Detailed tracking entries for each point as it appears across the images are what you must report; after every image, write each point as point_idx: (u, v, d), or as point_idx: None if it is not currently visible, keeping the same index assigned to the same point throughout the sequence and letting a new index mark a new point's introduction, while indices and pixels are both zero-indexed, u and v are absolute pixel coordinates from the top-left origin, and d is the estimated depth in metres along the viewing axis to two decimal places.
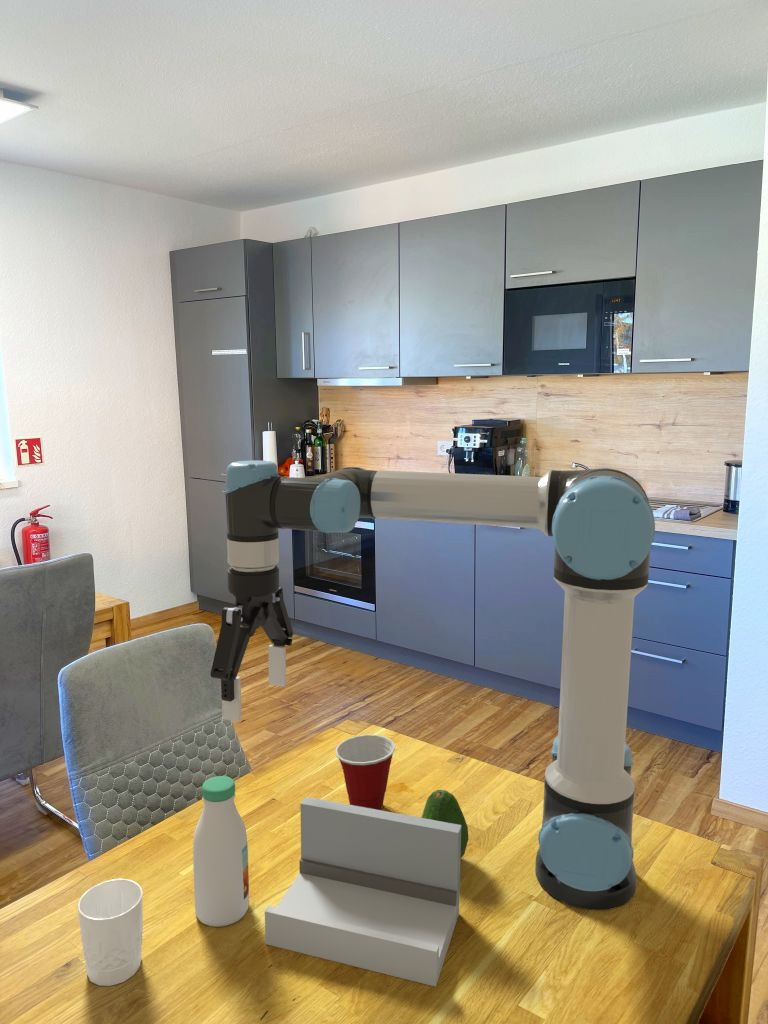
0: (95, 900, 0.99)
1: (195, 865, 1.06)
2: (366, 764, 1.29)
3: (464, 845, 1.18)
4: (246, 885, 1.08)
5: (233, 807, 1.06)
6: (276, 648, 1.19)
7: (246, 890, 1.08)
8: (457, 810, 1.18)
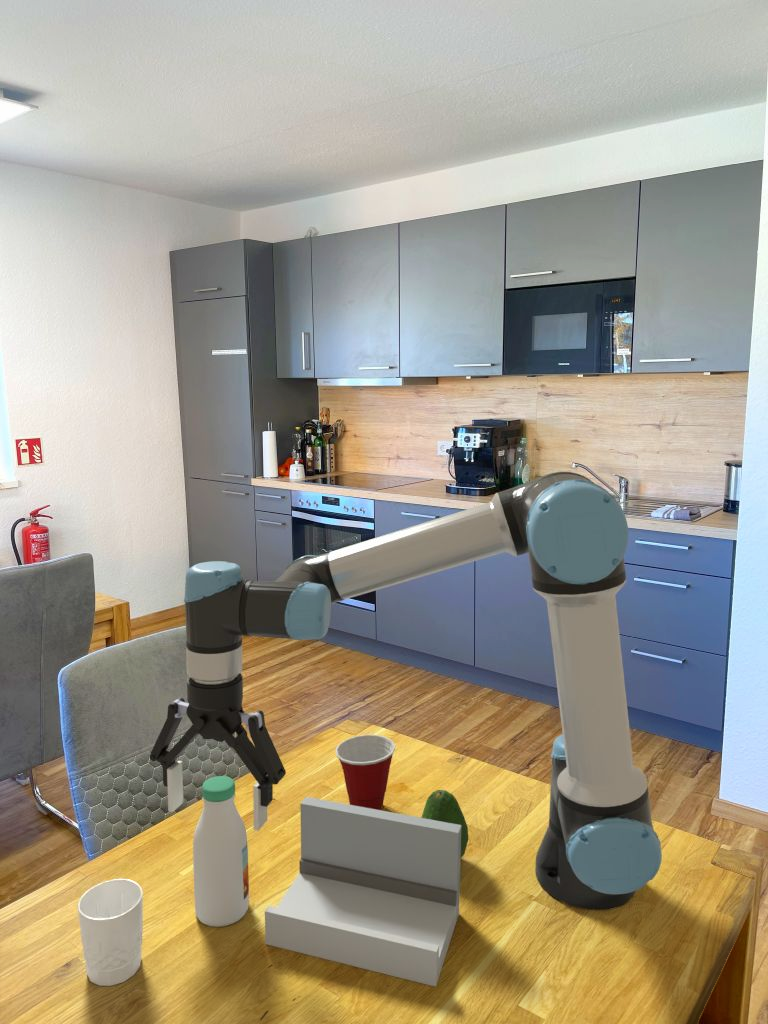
0: (95, 900, 0.99)
1: (195, 865, 1.06)
2: (366, 764, 1.29)
3: (464, 845, 1.18)
4: (246, 885, 1.08)
5: (233, 807, 1.06)
6: (257, 783, 1.04)
7: (246, 890, 1.08)
8: (456, 810, 1.18)
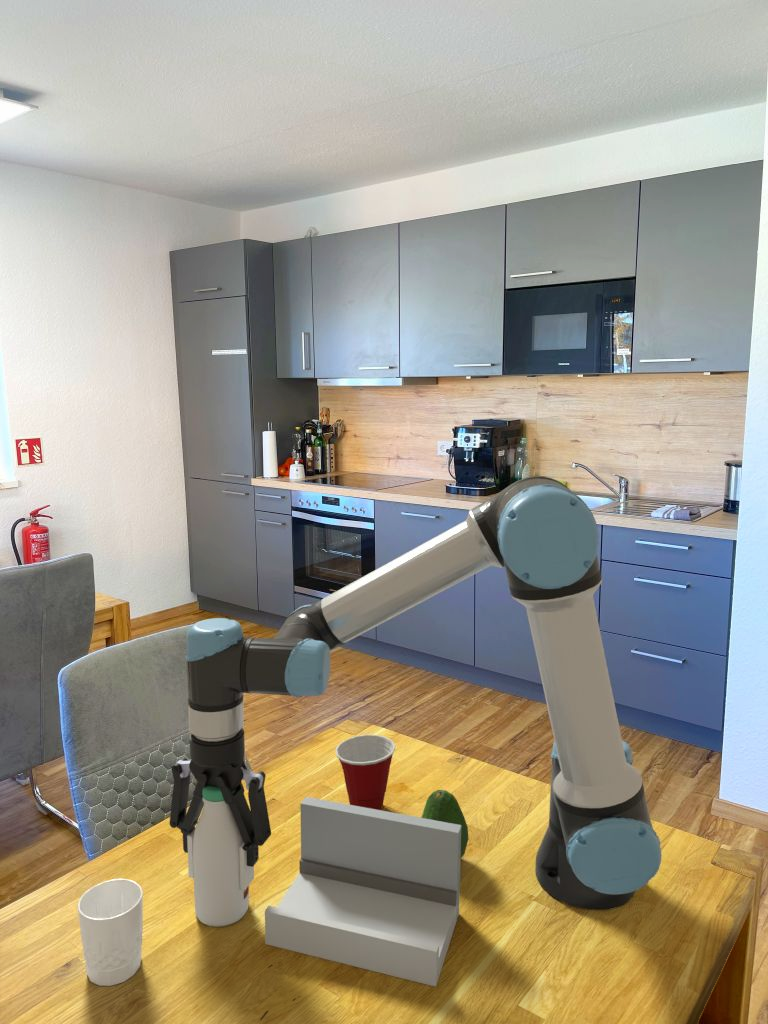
0: (95, 900, 0.99)
1: (195, 865, 1.06)
2: (366, 764, 1.29)
3: (464, 845, 1.18)
4: None
5: None
6: (243, 843, 1.06)
7: (246, 890, 1.08)
8: (457, 810, 1.18)
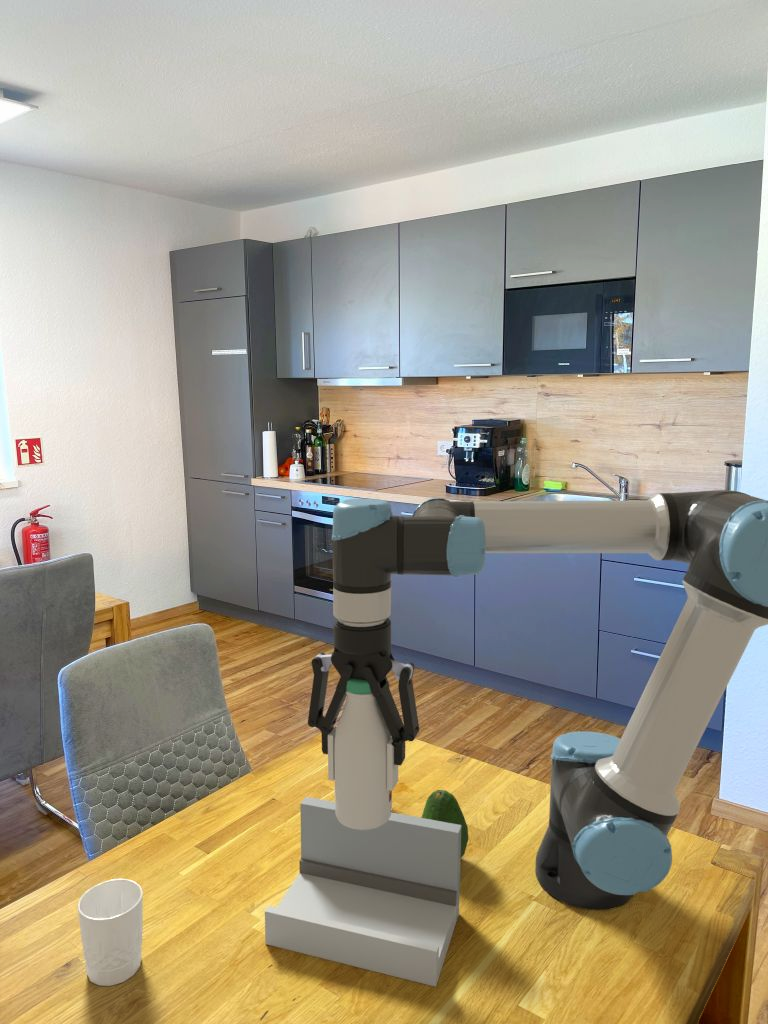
0: (95, 900, 0.99)
1: (339, 764, 0.99)
2: None
3: (464, 845, 1.18)
4: None
5: None
6: None
7: (390, 792, 1.01)
8: (456, 810, 1.18)
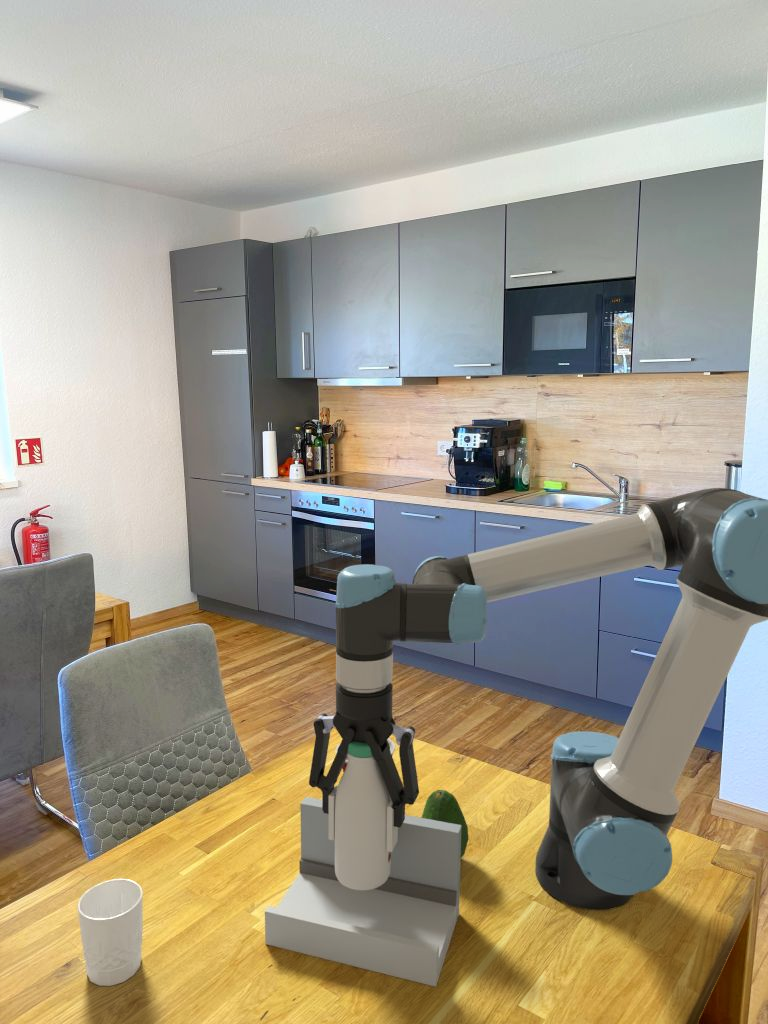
0: (95, 900, 0.99)
1: (339, 825, 1.00)
2: None
3: (464, 845, 1.18)
4: None
5: None
6: None
7: (390, 853, 1.02)
8: (456, 810, 1.18)
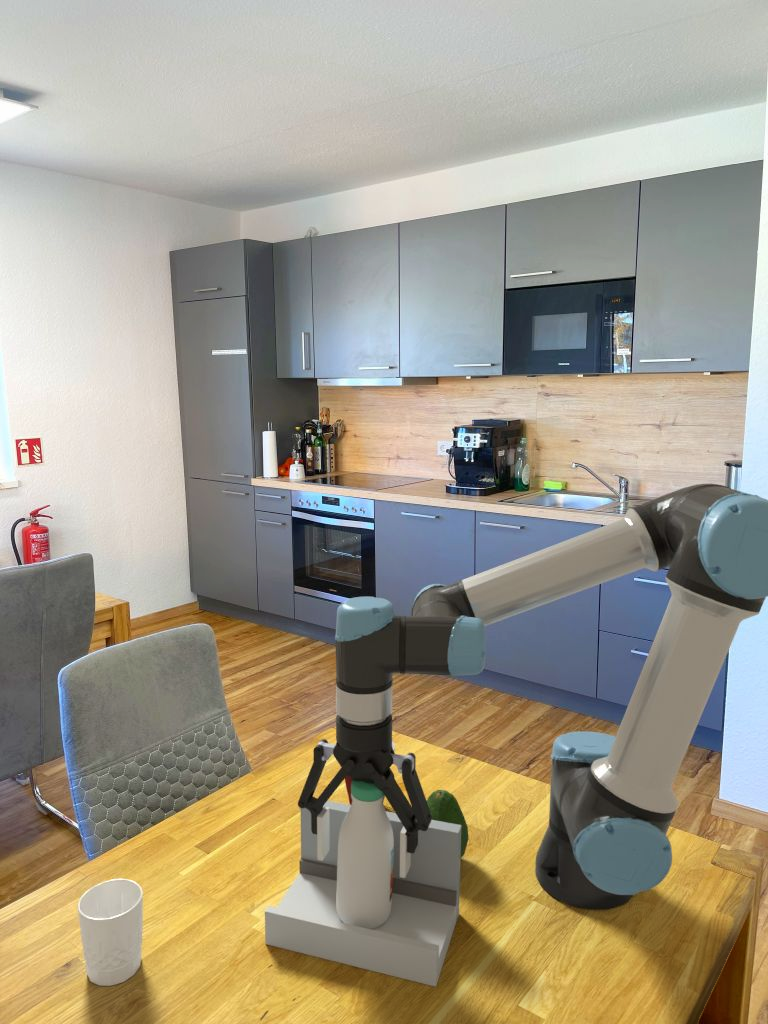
0: (95, 900, 0.99)
1: (342, 866, 1.01)
2: None
3: (464, 845, 1.18)
4: (391, 887, 1.03)
5: (383, 807, 1.01)
6: None
7: (391, 892, 1.03)
8: (457, 810, 1.18)
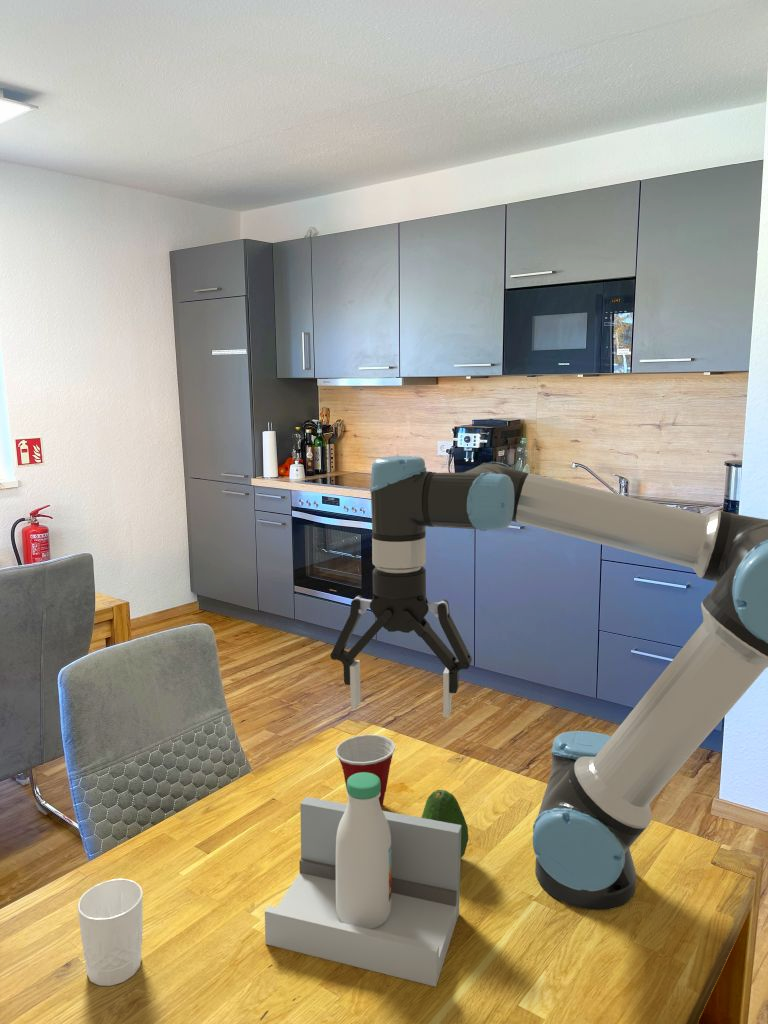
0: (95, 900, 0.99)
1: (340, 865, 1.01)
2: (366, 764, 1.29)
3: (464, 845, 1.18)
4: (390, 886, 1.03)
5: (379, 805, 1.02)
6: None
7: (390, 891, 1.03)
8: (456, 810, 1.18)
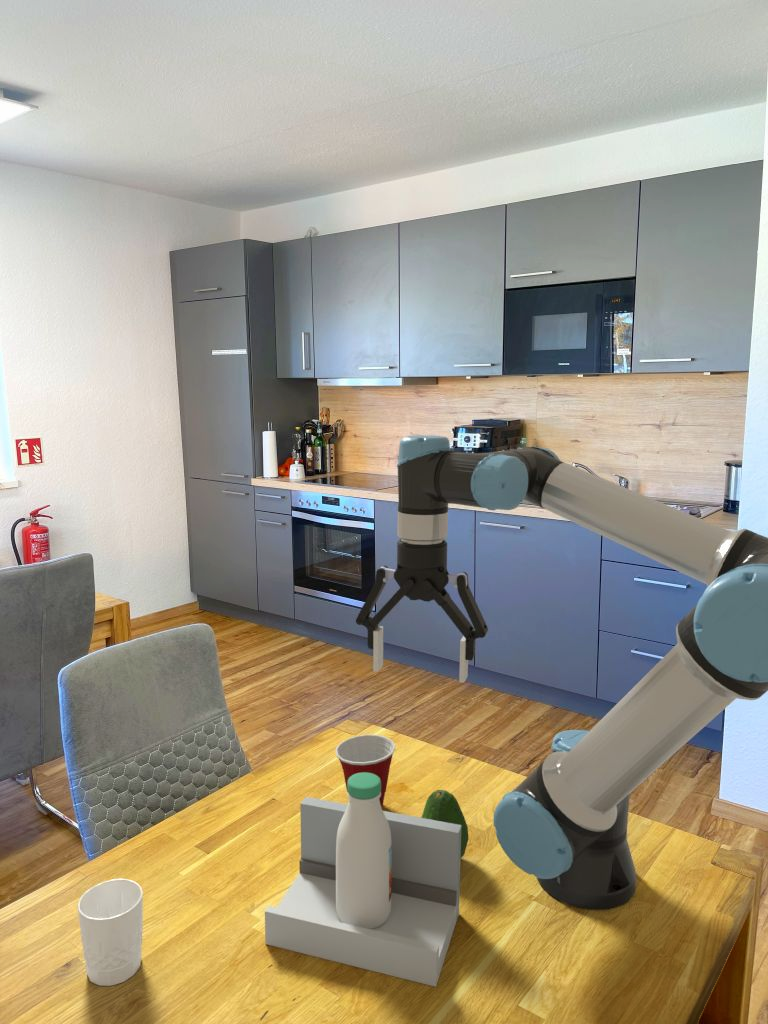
0: (95, 900, 0.99)
1: (340, 865, 1.01)
2: (366, 764, 1.29)
3: (464, 845, 1.18)
4: (390, 886, 1.03)
5: (379, 805, 1.02)
6: None
7: (390, 891, 1.03)
8: (457, 810, 1.18)
